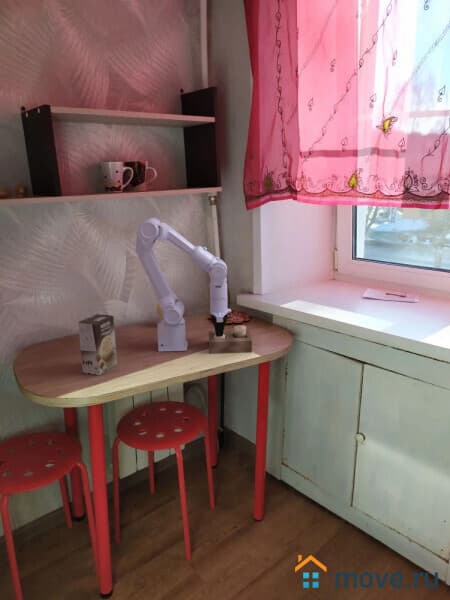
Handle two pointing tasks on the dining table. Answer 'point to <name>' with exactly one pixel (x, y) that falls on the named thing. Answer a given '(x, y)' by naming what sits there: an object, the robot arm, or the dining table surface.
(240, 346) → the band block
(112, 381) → the dining table surface
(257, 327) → the dining table surface
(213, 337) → the left peg
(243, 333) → the right peg
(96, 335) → the coffee box
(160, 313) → the light bulb
